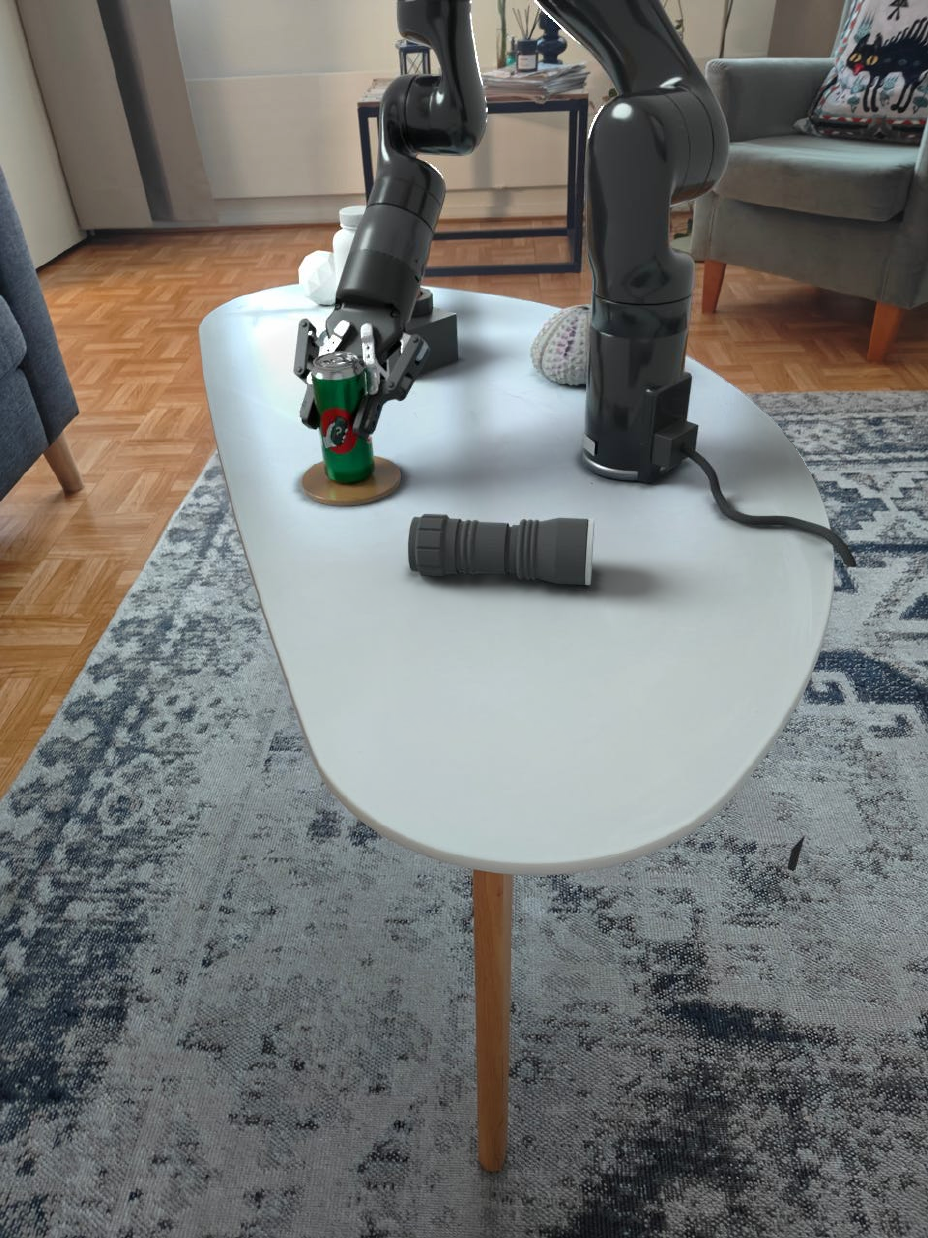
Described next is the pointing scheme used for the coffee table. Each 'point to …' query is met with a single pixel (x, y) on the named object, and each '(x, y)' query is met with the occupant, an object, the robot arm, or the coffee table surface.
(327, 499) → the coaster
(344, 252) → the pill bottle
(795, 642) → the coffee table surface
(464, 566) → the flashlight
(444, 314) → the push button base
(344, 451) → the soda can
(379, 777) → the coffee table surface
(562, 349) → the sea urchin shell
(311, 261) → the geometric ball
